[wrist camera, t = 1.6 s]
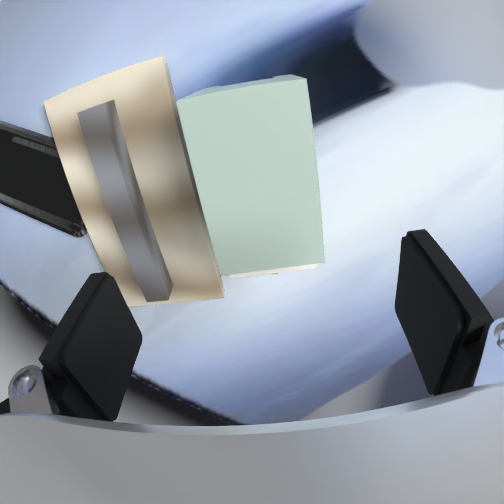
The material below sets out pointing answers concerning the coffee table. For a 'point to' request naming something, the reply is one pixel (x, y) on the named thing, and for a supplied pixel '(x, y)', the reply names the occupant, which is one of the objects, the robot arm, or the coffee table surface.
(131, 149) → the board
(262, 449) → the robot arm
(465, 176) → the coffee table surface
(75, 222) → the phone
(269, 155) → the mint green box
